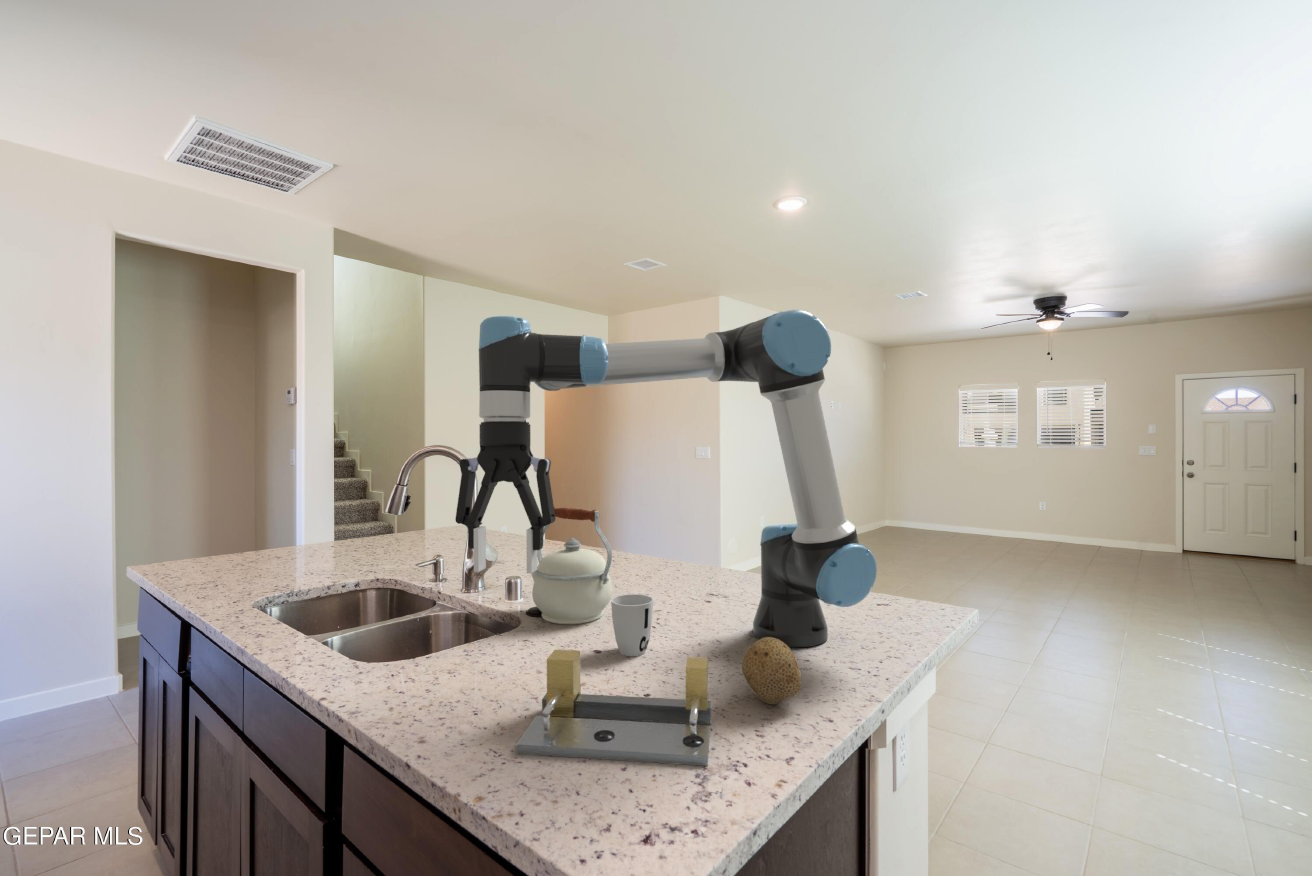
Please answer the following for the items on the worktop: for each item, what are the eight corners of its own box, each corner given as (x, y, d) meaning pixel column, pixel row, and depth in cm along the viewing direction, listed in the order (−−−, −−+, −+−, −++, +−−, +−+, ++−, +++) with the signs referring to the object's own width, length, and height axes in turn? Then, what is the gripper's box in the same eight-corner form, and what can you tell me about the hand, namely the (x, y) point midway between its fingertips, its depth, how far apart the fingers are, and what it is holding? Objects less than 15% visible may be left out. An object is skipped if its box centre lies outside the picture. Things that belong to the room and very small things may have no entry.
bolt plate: (709, 734, 84) (709, 725, 84) (707, 765, 76) (707, 755, 76) (536, 724, 87) (536, 715, 87) (516, 753, 79) (516, 743, 79)
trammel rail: (711, 714, 89) (711, 658, 89) (708, 753, 79) (708, 689, 79) (548, 705, 93) (548, 651, 93) (524, 741, 82) (523, 680, 82)
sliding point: (580, 703, 92) (580, 649, 92) (559, 740, 81) (559, 679, 81) (555, 701, 93) (555, 648, 93) (531, 738, 82) (531, 678, 82)
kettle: (634, 612, 141) (633, 506, 141) (584, 634, 126) (583, 515, 125) (553, 597, 154) (553, 501, 154) (500, 616, 139) (499, 508, 139)
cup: (648, 660, 111) (648, 606, 111) (606, 657, 113) (606, 604, 113) (657, 645, 119) (657, 595, 119) (617, 642, 121) (617, 593, 121)
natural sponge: (738, 688, 98) (738, 628, 98) (793, 689, 98) (793, 628, 98) (745, 714, 89) (744, 647, 89) (805, 715, 89) (805, 648, 89)
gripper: (577, 420, 94) (577, 566, 94) (452, 421, 96) (453, 563, 96) (563, 419, 86) (564, 578, 86) (429, 420, 89) (430, 574, 89)
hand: (505, 570), depth 91 cm, fingers open, 8 cm apart
